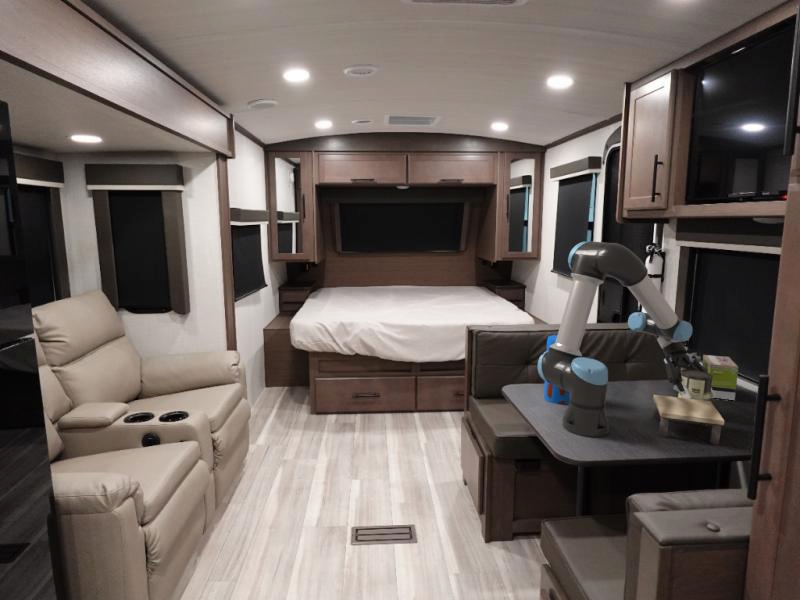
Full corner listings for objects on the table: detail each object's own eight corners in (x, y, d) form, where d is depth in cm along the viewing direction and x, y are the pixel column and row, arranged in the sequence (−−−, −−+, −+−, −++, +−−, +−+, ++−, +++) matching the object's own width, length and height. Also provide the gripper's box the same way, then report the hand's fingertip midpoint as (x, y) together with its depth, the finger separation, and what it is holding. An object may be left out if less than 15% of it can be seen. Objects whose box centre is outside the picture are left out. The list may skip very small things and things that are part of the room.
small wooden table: (658, 436, 165) (661, 412, 164) (651, 416, 182) (653, 394, 181) (721, 445, 159) (724, 420, 158) (707, 424, 176) (710, 401, 175)
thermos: (575, 404, 193) (580, 342, 189) (547, 404, 193) (551, 341, 189) (566, 394, 204) (571, 335, 200) (540, 394, 204) (544, 334, 200)
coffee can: (698, 404, 191) (702, 369, 189) (714, 415, 181) (719, 378, 179) (671, 403, 192) (675, 368, 189) (685, 414, 181) (690, 377, 179)
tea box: (698, 386, 216) (702, 353, 213) (725, 389, 212) (730, 356, 210) (706, 398, 202) (710, 363, 199) (735, 401, 198) (739, 366, 196)
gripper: (688, 349, 201) (717, 400, 189) (642, 352, 195) (669, 404, 183) (701, 339, 195) (732, 391, 183) (653, 342, 189) (682, 396, 177)
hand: (700, 398), depth 183 cm, fingers closed on coffee can, 10 cm apart
